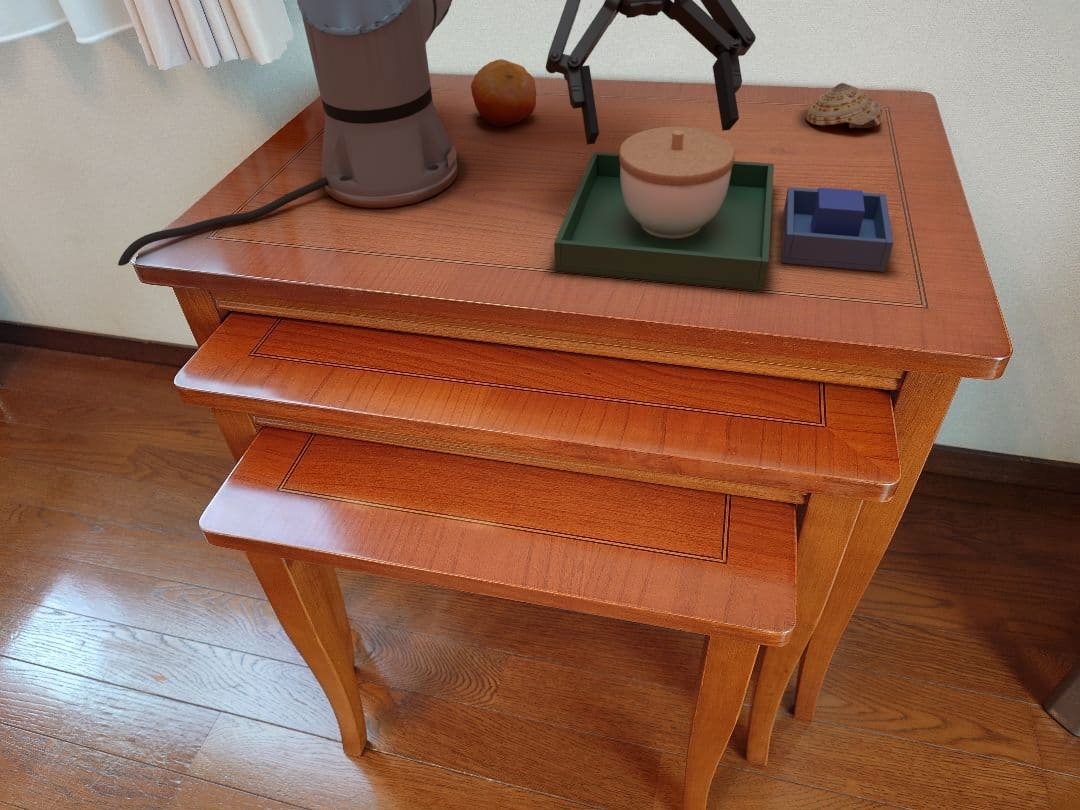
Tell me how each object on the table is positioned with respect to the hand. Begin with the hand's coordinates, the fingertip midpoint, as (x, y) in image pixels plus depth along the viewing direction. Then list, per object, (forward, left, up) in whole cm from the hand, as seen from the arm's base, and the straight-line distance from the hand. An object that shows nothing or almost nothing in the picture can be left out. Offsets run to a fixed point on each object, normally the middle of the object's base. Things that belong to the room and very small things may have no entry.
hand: (662, 132), depth 77 cm
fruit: (-12, +28, -9) cm, 32 cm away
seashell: (+28, +16, -9) cm, 34 cm away
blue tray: (+15, -9, -9) cm, 19 cm away
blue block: (+15, -9, -8) cm, 19 cm away
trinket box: (+1, -3, -8) cm, 9 cm away
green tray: (0, -3, -9) cm, 9 cm away
